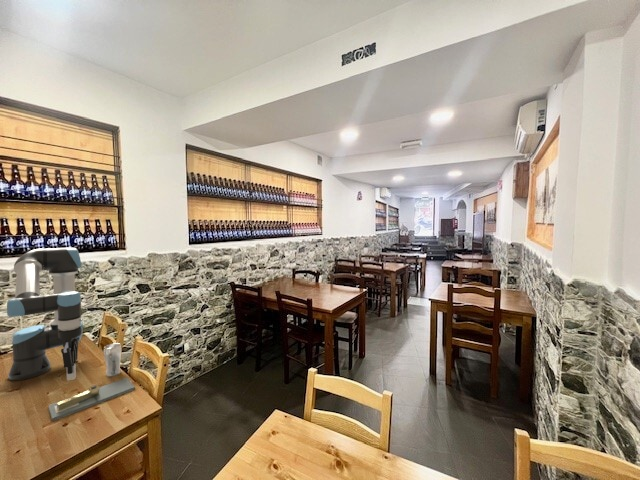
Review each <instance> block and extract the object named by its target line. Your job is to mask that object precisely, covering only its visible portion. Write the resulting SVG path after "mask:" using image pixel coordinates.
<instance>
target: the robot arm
mask: <svg viewBox="0 0 640 480" xmlns="http://www.w3.org/2000/svg"><path fill="white" fill-rule="evenodd" d="M79 252H80V251H79V250H78V249H77V248H75V247H56V248H55V247H54V248H36V249H32V250H29V251H27V252H25V253H24V254H22V255H20V256H19V257H18V258H17V260H16V261H15V262H14V264H13V271H14V274H16V277H15V279H16V280H15V294H14V298H12V299H8V300H7V302H6V313H7V317H9V318H14V317H15V318H17V317H24V316H29V315H31V316H32V315H36V314H37V315H38V314H43V313H48V312H49V313H50V312H54V313H53V314H54V315H53V316H54V319H53V321H51V322H50V326H48V327H46V325H44V324H38V325H33V326H28V327H25V328H23V329H20V330H18V331H17V332H15V333H13V335H12V341H11V344H12V364H11V366H10V370H9V371H8V375H7V376H8V380H10V381H23V380H27V379H31V378H35V377H38V376H40V375H44V374H45V373H46V372H49V370H51V367H52V363H51V361H50V359H49V357H48V355H47V353H46V352H47V350H51V349H55V348H60V347H63V348H61V349H60V352H61V355H62V362H63V368H66V381H72V380H76V378H77V372H76V371H77V368H76V366H77V365H76V364H78V363H79V360H78V355H79V342H80V341H81V339H82V337H83V331H84V322H83V320H84V318H82V296H81V295H82V294H81V292H80V291H76V289H75V287H76V284H75V283H76V281H75V275H76V274H77V273H78V272H79V269H81V268H82V261H81V257H80V253H79ZM41 271H48V274H49V275H51V276H52V277H53V278H52V280H53V282H52V283H53V284H52V285H53V293H51V294H45V295H44V294H43V295H41V294H40V293H41V288H40V283H41V282H40V272H41Z"/></svg>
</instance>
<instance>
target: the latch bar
mask: <svg viewBox="0 0 640 480" xmlns="http://www.w3.org/2000/svg"><path fill="white" fill-rule="evenodd" d="M99 387H100V386H99V385H92V386H91V387H89V388H88V390H86V391H83V392H80V393H78V394H75V395H73V396H71V397H68V399H67V398H65V399H62V400H63V401H62V400H60V401H61V402H59V401H57V402H58V403H57V409H58V410H61V409H64V408H66V407H68V406H71V405H73V404H76V403H78V402H80V401H83V400H85V399H87V398H90V397H94V396H96V395H98V394H99Z"/></svg>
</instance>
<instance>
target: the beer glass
mask: <svg viewBox="0 0 640 480" xmlns="http://www.w3.org/2000/svg"><path fill="white" fill-rule="evenodd" d="M121 344H122V343H118V342H116V343H115V342H114V343H109V344H106V345H105V347H104V362H105V365H106V373H105V376H106V377H108V378H111V377H115V376H117V375H118V376H119V375H120V374H121V372H122V371H121V368H120V365H121V364H120V363H121V358H122V346H121Z"/></svg>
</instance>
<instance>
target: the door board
mask: <svg viewBox="0 0 640 480" xmlns="http://www.w3.org/2000/svg"><path fill="white" fill-rule="evenodd" d="M135 389H136V387H135V385H134V384H133V383H132V381H131V380H130V379H129V378H128V377H124V378H122V379H119V380H115V381H114V382H110V383H108V384H105V385H102V386H99V394H98V395H96V396H94V397H90V398H87V399H85V400H83V401H80V402H78V403H76V404H73V405H71V406H68V407H66V408H64V409H61V410H58V409H57V403H58V402H61V401H63V400H64V399H62V400H59V401H57V402H53V403H51V404H48V411H49V415H50V418H51V421H52V422H54V421H57V420H59V419H61V418H64V417H68V416H70V415H72V414H74V413H77V412H81V411H83V410H86V409H88V408H90V407H94V406H96V405H98V404H101V403H103V402H106V401H108V400H112V399H114V398H116V397H119V396H121V395H124V394H126V393H129V392H131V391H135ZM68 398H69V397H68ZM68 398H66V399H68Z"/></svg>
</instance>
